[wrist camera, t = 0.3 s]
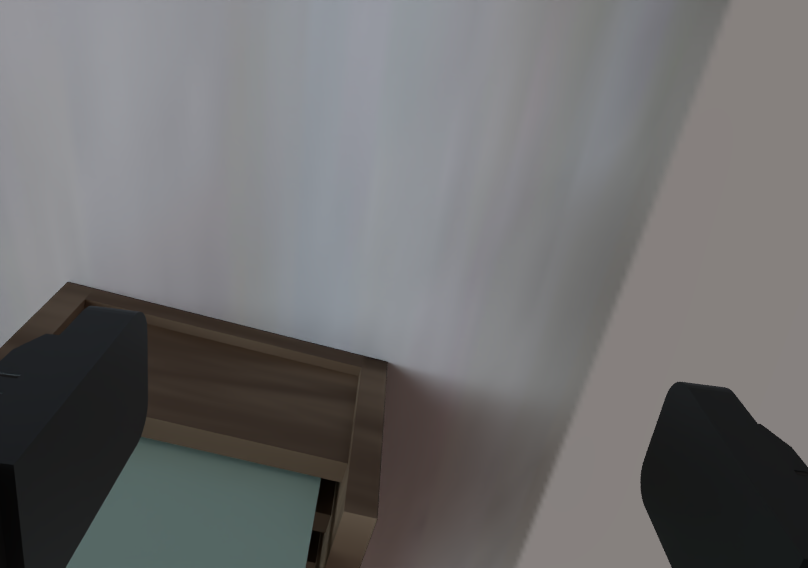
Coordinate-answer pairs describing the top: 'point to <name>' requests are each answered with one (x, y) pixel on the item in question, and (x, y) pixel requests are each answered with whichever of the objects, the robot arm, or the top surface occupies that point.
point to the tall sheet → (200, 513)
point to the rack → (257, 406)
